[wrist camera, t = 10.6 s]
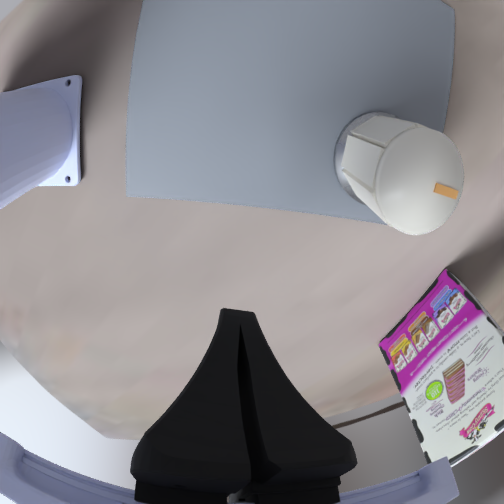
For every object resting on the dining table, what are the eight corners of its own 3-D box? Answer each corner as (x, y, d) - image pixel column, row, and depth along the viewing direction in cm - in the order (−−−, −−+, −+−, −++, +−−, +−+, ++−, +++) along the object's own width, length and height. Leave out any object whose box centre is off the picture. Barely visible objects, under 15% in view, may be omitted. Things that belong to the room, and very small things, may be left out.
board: (131, 191, 18) (126, 196, 17) (165, -56, 8) (161, -62, 7) (409, 224, 20) (415, 229, 19) (447, 11, 10) (454, 9, 10)
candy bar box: (401, 351, 28) (450, 468, 14) (376, 343, 27) (427, 478, 13) (464, 281, 24) (545, 393, 9) (445, 265, 22) (541, 394, 8)
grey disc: (324, 196, 17) (344, 221, 14) (343, 100, 14) (372, 101, 11) (403, 210, 18) (432, 236, 15) (424, 127, 15) (461, 138, 11)
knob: (334, 192, 17) (366, 227, 12) (353, 107, 14) (396, 112, 10) (404, 207, 17) (444, 242, 13) (424, 132, 15) (475, 149, 10)
